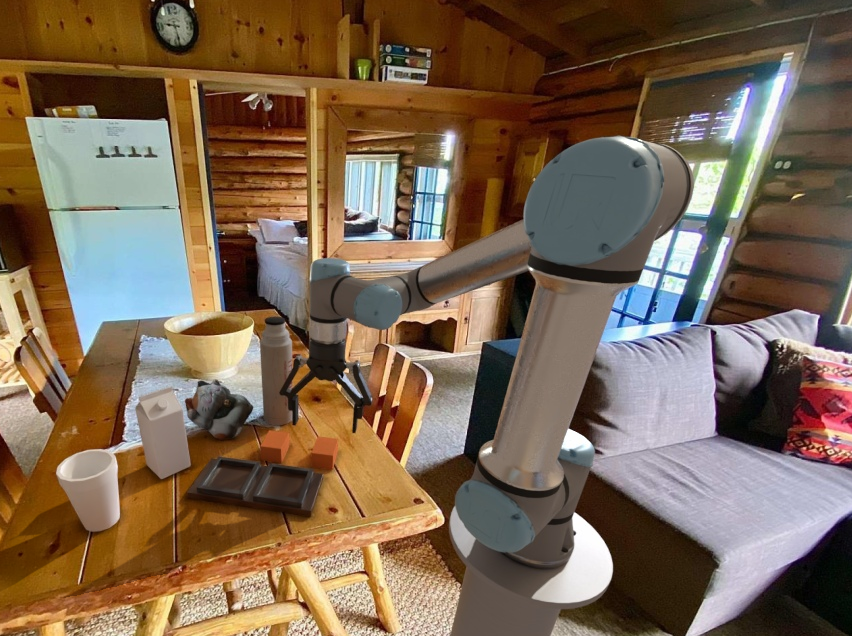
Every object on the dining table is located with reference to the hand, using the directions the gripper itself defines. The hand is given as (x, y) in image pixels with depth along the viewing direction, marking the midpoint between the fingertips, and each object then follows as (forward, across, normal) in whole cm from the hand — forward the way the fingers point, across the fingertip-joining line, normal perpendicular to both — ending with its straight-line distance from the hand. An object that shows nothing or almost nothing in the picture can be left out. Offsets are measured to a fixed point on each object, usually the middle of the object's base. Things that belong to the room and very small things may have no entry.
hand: (324, 426), depth 99 cm
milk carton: (+10, +34, +10) cm, 36 cm away
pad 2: (+9, 0, 0) cm, 9 cm away
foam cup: (+9, +38, +28) cm, 48 cm away
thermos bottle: (+10, +16, -16) cm, 24 cm away
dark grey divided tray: (+9, +12, +13) cm, 20 cm away
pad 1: (+9, +12, 0) cm, 15 cm away
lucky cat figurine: (+10, +29, -8) cm, 31 cm away
